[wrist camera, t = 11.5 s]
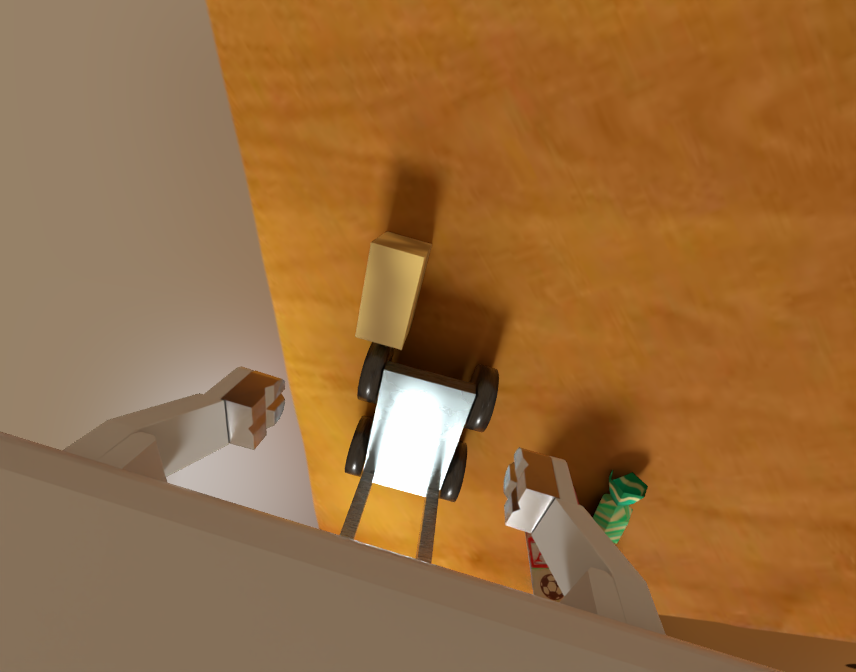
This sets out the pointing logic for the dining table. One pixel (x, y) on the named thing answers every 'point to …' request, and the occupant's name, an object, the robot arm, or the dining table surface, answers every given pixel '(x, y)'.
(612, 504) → the candy
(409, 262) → the block
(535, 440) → the dining table surface
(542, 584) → the stack of blocks
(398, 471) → the trolley
